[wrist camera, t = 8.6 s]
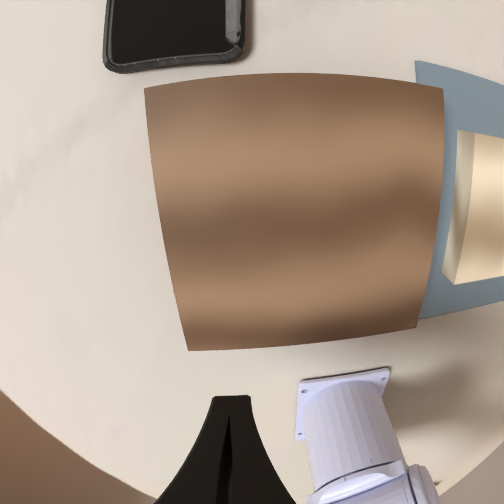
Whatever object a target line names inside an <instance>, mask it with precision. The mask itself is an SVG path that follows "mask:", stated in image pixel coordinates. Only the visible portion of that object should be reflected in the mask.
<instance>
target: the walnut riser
mask: <svg viewBox="0 0 504 504" xmlns="http://www.w3.org/2000/svg"><path fill="white" fill-rule="evenodd" d="M144 94H145V106H146V117H147V127H148V137H149V145H150V154H151V162H152V169H153V177H154V184H155V191H156V197H157V204H158V210H159V216H160V222H161V228H162V234H163V239H164V245H165V250H166V255H167V260H168V265H169V270H170V275H171V280H172V285H173V289H174V294H175V298H176V303H177V307H178V311H179V316H180V320H181V324H182V328H183V332H184V336H185V340H186V344H187V348H188V351H204V350H231V349H250V348H265V347H277V346H289V345H300V344H309V343H318V342H327V341H335V340H343V339H350V338H357V337H364V336H371V335H377V334H383V333H389V332H395V331H401V330H406V329H411V328H416V325H417V322H418V318H419V314H420V311H421V307H422V303H423V299H424V295H425V290H426V286H427V281H428V277H429V272H430V267H431V262H432V256H433V251H434V245H435V239H436V232H437V225H438V218H439V209H440V200H441V190H442V178H443V162H444V93H443V88H439V87H434V86H429V85H423V84H418V83H412V82H406V81H399V80H392V79H384V78H376V77H366V76H355V75H341V74H320V73H271V74H249V75H235V76H223V77H214V78H205V79H197V80H190V81H183V82H176V83H170V84H164V85H159V86H153V87H148V88H144Z"/></svg>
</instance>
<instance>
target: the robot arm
mask: <svg viewBox="0 0 504 504" xmlns="http://www.w3.org/2000/svg"><path fill="white" fill-rule="evenodd" d="M389 375H390V370H389V369H388V368H383V369H378V370H372V371H367V372H361V373H355V374H349V375H343V376H336V377H329V378H321V379H313V380H305V381H301V382H300V383H299V384H298V397H297V413H296V427H295V440H297V441H301V440H306V446H307V453H308V459H309V465H310V472H311V478H312V484H313V487H314V493H313V494H311V495H308V496H306V497H307V504H441V501H440V499H439V496H438V493H437V490H436V488H435V485H434V483H433V481H432V478H431V476H430V474H429V472H428V470H427V468H426V467H424V466H419V465H418V464H414V465H412V466H410V467H409V466H408V465H407V464H406V461H405V458H404V456H403V453H402V450H401V447H400V445H399V442H398V439H397V437H396V434H395V431H394V429H393V426H392V424H391V421H390V418H389V416H388V413H387V411H386V408H385V406H384V403H383V401H382V396H383V393H384V390H385V387H386V384H387V381H388V379H389ZM304 389H305V390H304ZM154 504H296V503H295V501H294V500H293V498H292V497H291V496H290V494H289V493H288V491H287V489H286V488H285V486H284V485H283V483H282V481H281V480H280V478H279V476H278V475H277V473H276V471H275V469H274V467H273V465H272V463H271V461H270V459H269V457H268V455H267V453H266V451H265V448H264V446H263V443H262V441H261V438H260V436H259V433H258V430H257V427H256V424H255V421H254V417H253V413H252V405H251V397H250V396H248V395H238V396H215V397H213V398H212V402H211V405H210V408H209V411H208V414H207V417H206V419H205V422H204V424H203V426H202V429H201V431H200V433H199V435H198V437H197V439H196V442H195V444H194V446H193V447H192V449H191V451H190V453H189V455H188V456H187V458H186V460H185V462H184V463H183V465H182V467H181V468H180V470H179V471H178V473H177V474H176V476H175V477H174V479H173V480H172V482H171V483H170V484H169V486H168V487H167V488H166V489H165V491H164V492H163V493H162V495H161V496H160V497H159V498H158V499H157V501H156V502H155V503H154Z"/></svg>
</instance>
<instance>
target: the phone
mask: <svg viewBox="0 0 504 504" xmlns="http://www.w3.org/2000/svg"><path fill="white" fill-rule="evenodd" d="M244 45H245V0H107V4H106V14H105V24H104V38H103V56H102V57H103V63H104V65H105V67H106V68H107V69H108V70H110V71H113V72H116V73H119V74H126V73H132V72H133V71H134V72H139V71H145V70H152V69H160V68H168V67H178V66H189V65H202V64H223V63H228V62H231V61H233V60H235V59H237V58H238V57H239V56H240V55H241V53H242V52H243V50H244Z"/></svg>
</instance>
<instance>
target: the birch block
mask: <svg viewBox="0 0 504 504" xmlns="http://www.w3.org/2000/svg"><path fill="white" fill-rule="evenodd" d="M441 273H442V274H443V275H444V276H445V277H447V278H448V279H449V280H450V281H451V282H452V283H453V284H454V285H455V284H461V283H467V282H473V281H478V280H484V279H489V278H494V277H500V276H504V139H502V138H498V137H493V136H489V135H484V134H478V133H473V132H467V131H461V130H457V158H456V174H455V186H454V196H453V205H452V213H451V221H450V227H449V234H448V240H447V245H446V251H445V256H444V261H443V266H442V271H441Z"/></svg>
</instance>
